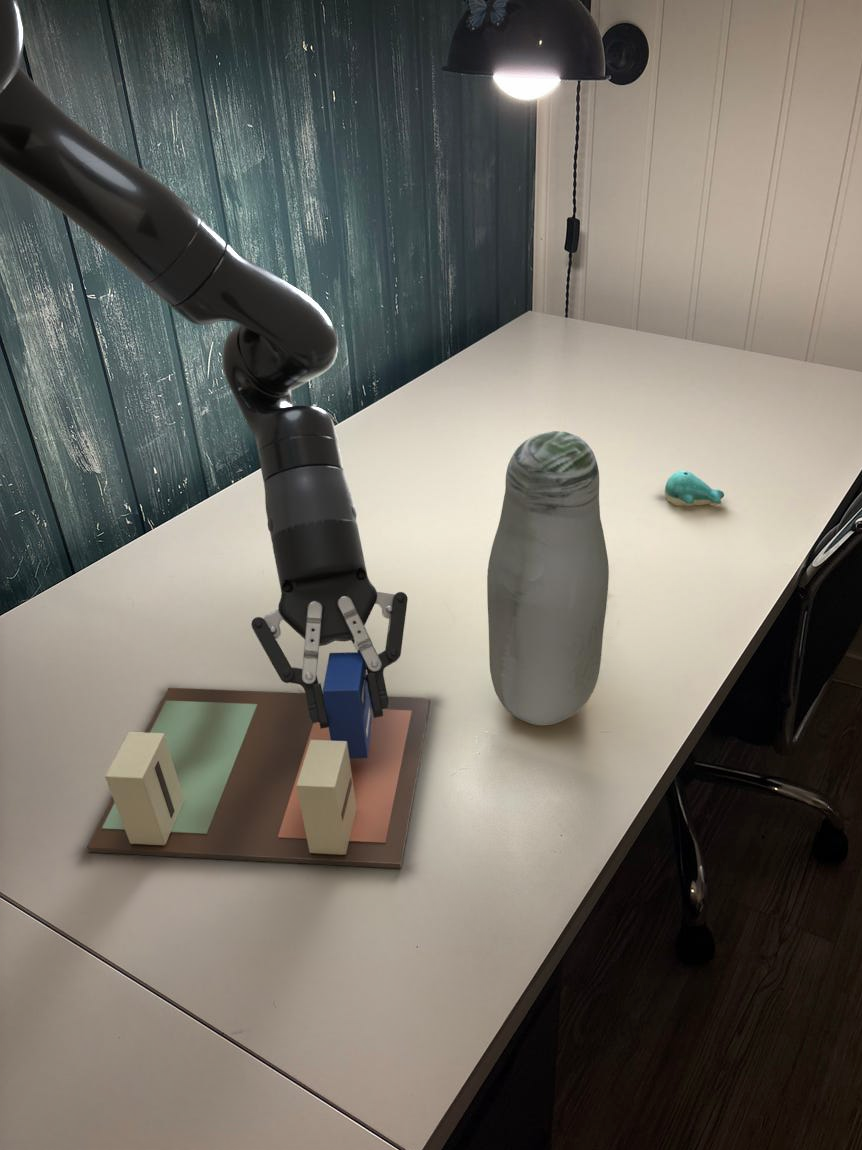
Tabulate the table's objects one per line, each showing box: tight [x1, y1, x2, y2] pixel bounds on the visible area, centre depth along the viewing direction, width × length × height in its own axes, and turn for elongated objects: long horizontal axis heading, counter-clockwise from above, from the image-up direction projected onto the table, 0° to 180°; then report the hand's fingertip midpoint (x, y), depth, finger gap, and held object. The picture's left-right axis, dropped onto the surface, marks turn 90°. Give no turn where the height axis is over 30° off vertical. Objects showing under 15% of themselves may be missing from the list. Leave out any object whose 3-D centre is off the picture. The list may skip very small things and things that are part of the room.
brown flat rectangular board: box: [86, 687, 431, 869], centre depth 85 cm, size 26×20×1 cm
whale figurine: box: [664, 470, 725, 507], centre depth 120 cm, size 6×7×4 cm
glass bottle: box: [486, 430, 610, 726], centre depth 82 cm, size 10×10×28 cm
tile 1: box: [104, 731, 184, 845], centre depth 77 cm, size 3×5×8 cm, turn 176°
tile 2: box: [296, 740, 357, 855], centre depth 76 cm, size 3×5×8 cm, turn 175°
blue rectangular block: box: [322, 651, 372, 759], centre depth 82 cm, size 3×5×8 cm, turn 1°
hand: (351, 721), depth 81 cm, fingers closed on blue rectangular block, 4 cm apart
